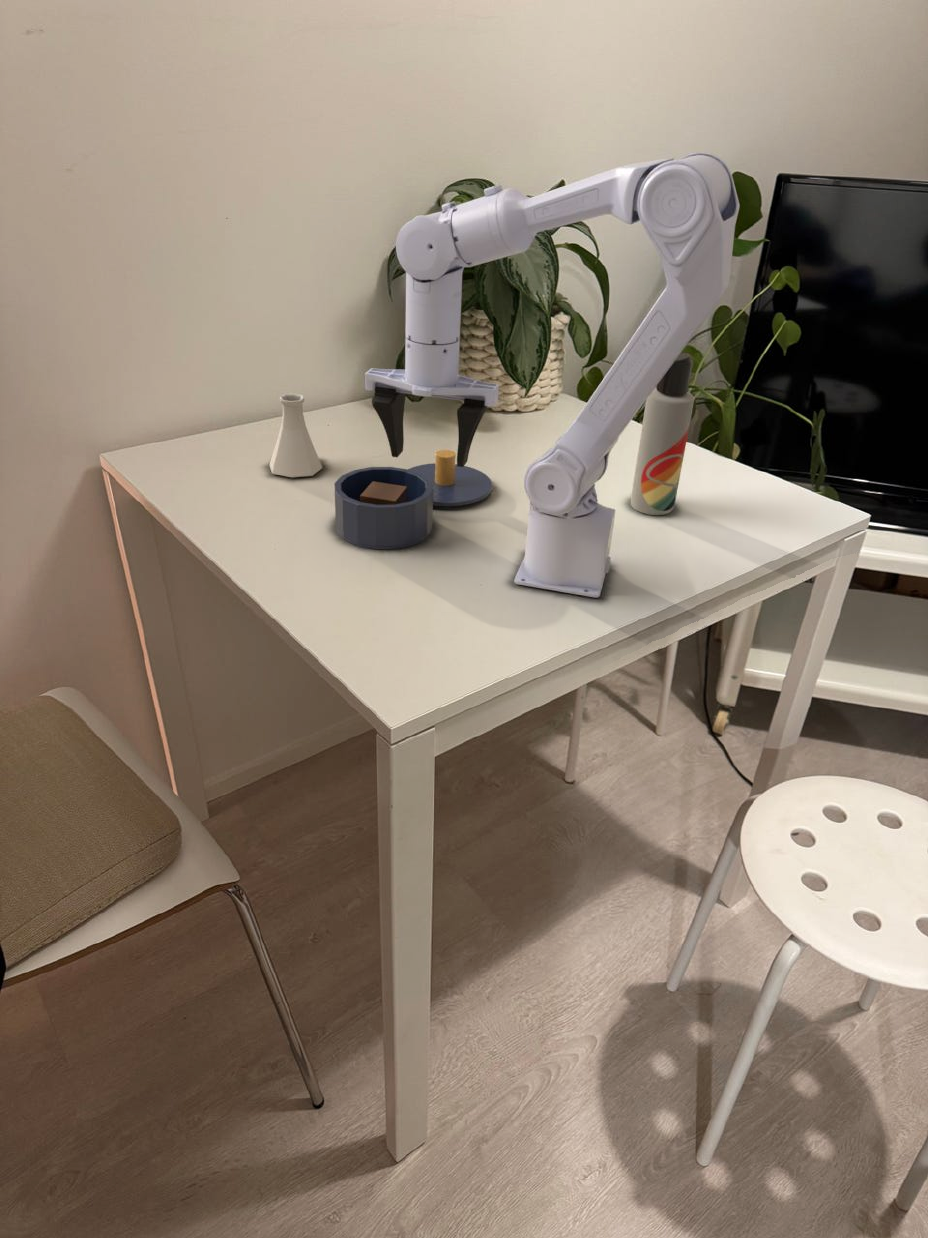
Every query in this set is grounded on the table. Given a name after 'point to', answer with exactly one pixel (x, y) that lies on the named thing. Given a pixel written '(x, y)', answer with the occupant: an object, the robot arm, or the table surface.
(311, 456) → the flask
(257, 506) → the table surface
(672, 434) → the lotion bottle
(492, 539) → the table surface
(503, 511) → the table surface
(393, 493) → the block
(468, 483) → the lid
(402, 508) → the tin
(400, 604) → the table surface
